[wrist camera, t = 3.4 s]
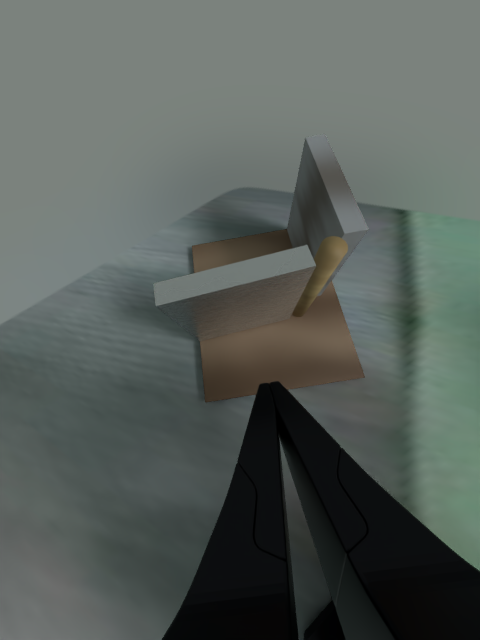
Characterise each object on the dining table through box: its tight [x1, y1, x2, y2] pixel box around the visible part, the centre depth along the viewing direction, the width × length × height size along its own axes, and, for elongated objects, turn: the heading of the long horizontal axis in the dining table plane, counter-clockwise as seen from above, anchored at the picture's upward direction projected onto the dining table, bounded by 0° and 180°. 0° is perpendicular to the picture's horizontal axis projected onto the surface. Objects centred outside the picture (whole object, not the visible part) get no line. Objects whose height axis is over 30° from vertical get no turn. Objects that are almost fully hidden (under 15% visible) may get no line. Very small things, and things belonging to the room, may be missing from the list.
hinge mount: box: [192, 134, 369, 402], centre depth 13 cm, size 14×12×9 cm
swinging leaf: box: [153, 245, 316, 341], centre depth 13 cm, size 8×1×8 cm, turn 104°
